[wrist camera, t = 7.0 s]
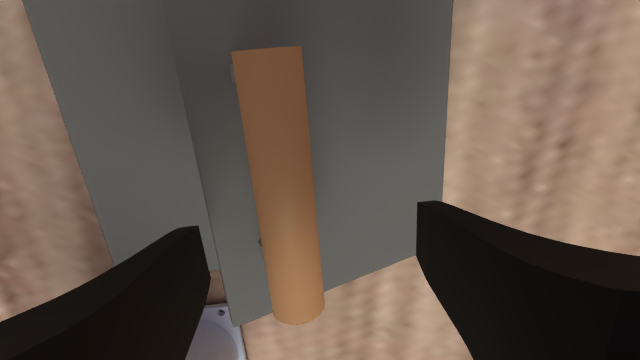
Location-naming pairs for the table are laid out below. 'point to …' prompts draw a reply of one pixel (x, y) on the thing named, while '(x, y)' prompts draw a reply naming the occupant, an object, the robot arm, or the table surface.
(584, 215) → the table surface
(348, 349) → the table surface
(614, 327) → the robot arm
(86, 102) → the charcoal shallow open tray
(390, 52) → the grill press
